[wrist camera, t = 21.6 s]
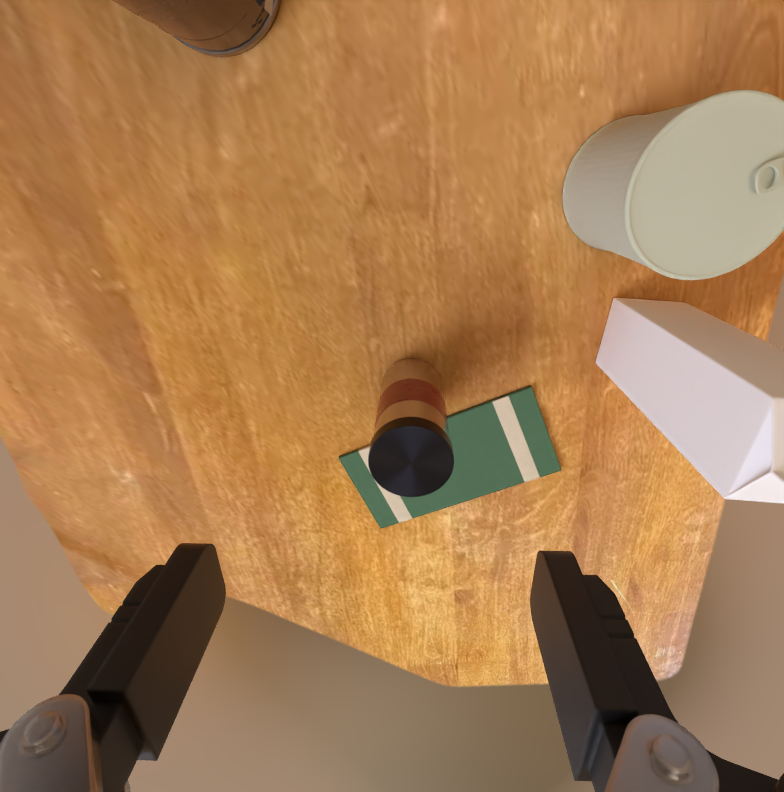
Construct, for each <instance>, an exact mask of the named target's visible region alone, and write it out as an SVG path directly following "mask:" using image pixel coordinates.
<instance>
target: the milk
mask: <svg viewBox="0 0 784 792" xmlns="http://www.w3.org/2000/svg"><path fill="white" fill-rule="evenodd" d="M596 364H597V365H598V366H599V367H600V368H601V369H602V370H603V371H604V372H605V373H606V375H607V376H608V377H609V378H610V379H611V380H612V381H613V382H614V383H615V384H616V385H617V386H618V387H619V388H620V389H621V390H622V391H623V392H624V393H625V395H626V396H627V397H628V398H629V399H630V400H631V401H632V402H633V403H634V404H635V405H636V406H637V407H638V408H639V409H640V410H641V411H642V412H643V413H644V415H645V416H646V417H647V418H648V419H649V420H650V421H651V422H652V423H653V424H654V425H655V426H656V427H657V428H658V429H659V430H660V431H661V432H662V433H663V435H664V436H665V437H666V438H667V439H668V440H669V441H670V442H671V443H672V444H673V445H674V446H675V447H676V448H677V449H678V450H679V451H680V452H681V453H682V455H683V456H684V457H685V458H686V459H687V460H688V461H689V462H690V463H691V464H692V465H693V466H694V467H695V468H696V469H697V470H698V471H699V472H700V473H701V475H702V476H703V477H704V478H705V479H706V480H707V481H708V482H709V483H710V484H711V485H712V486H713V487H714V488H715V489H716V490H717V491H718V492H719V493H720V495H721V496H722V497H723V498H725V499H734V500H746V501H747V500H748V501H760V502H773V503H784V350H783V349H781V348H779V347H777V346H774V345H772V344H770V343H768V342H766V341H764V340H762V339H760V338H758V337H756V336H754V335H752V334H749V333H747V332H745V331H743V330H741V329H739V328H737V327H735V326H733V325H731V324H729V323H727V322H724V321H722V320H720V319H718V318H716V317H714V316H712V315H710V314H708V313H706V312H704V311H702V310H699V309H697V308H695V307H693V306H691V305H689V304H687V303H684V302H672V301H658V300H643V299H629V298H613V302H612V305H611V309H610V312H609V316H608V319H607V323H606V327H605V330H604V334H603V337H602V341H601V344H600V348H599V351H598V355H597V359H596Z"/></svg>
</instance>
